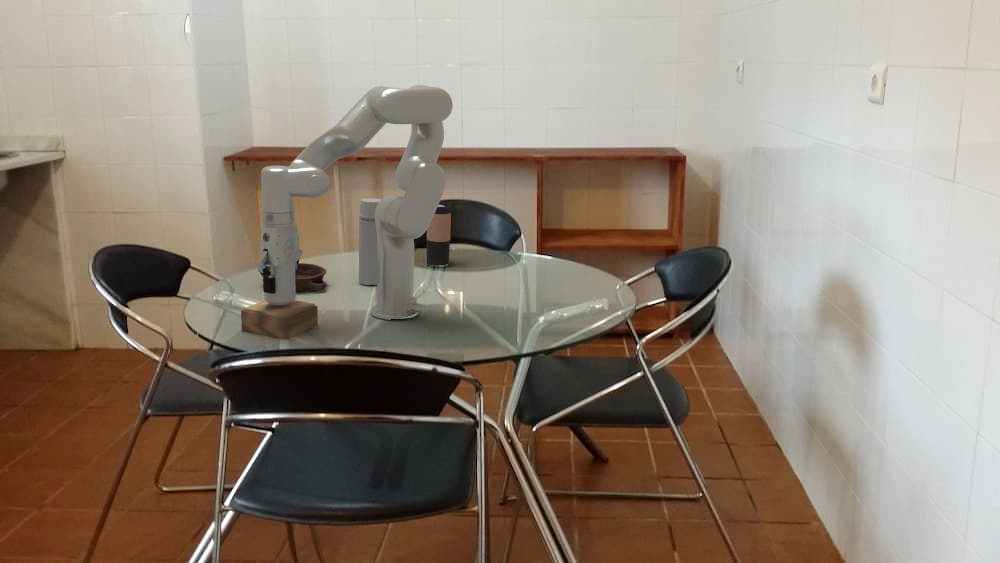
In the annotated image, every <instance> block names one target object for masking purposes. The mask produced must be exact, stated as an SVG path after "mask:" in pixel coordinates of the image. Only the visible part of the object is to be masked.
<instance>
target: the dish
mask: <svg viewBox="0 0 1000 563" xmlns="http://www.w3.org/2000/svg"><path fill="white" fill-rule="evenodd" d="M297 266H298V269H297V270H296V283H297V284H296V293H297V292H308V291H313V290H314V291H315V290H316V291H321V290H322V291H323V290H324V289H325V288H326V284H327V283H326V282H325V281H324V276H325V275H326V274H327V270H326V268H325V267H323V266H320V265H318V264H313V263H305V262H304V263H300V262H299V263H298V265H297Z"/></svg>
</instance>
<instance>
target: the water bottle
mask: <svg viewBox="0 0 1000 563" xmlns="http://www.w3.org/2000/svg"><path fill="white" fill-rule="evenodd" d="M381 199H382V198H371V197H369V198H362V199H360V204H359V205H360V207H359V213H358V218H359V219H358V220H359V221H358V224H359V225H358V230H359V231H358V283H359V284H361V285H362V286H366V285H375V286H377V258H378V241H377V230H376V223H375V211H376V207H377V205H378V203H379V202H380V200H381Z"/></svg>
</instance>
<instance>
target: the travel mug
mask: <svg viewBox="0 0 1000 563" xmlns="http://www.w3.org/2000/svg"><path fill="white" fill-rule="evenodd" d="M451 219H452V205H451V204H450V203H445V202H439V204H438V207H437V209H436V211H435V214H434V216H433V218H432V221H431V223H430V225H429V227H428V229H427V230H426V265H427V264H429V265H445V264H448V263H450V248H451V229H452V228H451V225H452V224H451Z"/></svg>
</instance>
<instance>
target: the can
mask: <svg viewBox="0 0 1000 563" xmlns="http://www.w3.org/2000/svg"><path fill="white" fill-rule="evenodd" d="M291 257H292V256H290V257H287V258H288V260H287V261H286V262H285V263H284V264H283V266H282V267H279V268H275V273H274V276H273V277H274V278H275V290H276V292H275V293H274V294H270V293H265V292H264V291H263V293H264V295H263V296H264V300H266V301H267V302H268V303H269V304H272V305H287V304H290V303H292V302H293V301H294V300H297V299H296V298H297V296H296V295H297V294H296V293H297V292H296V285H295V261H294V260H293V259H290V258H291ZM267 264H271V263H270V261H268V262H267ZM267 269H268V271H269V272H270V269H271V267H267Z"/></svg>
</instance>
